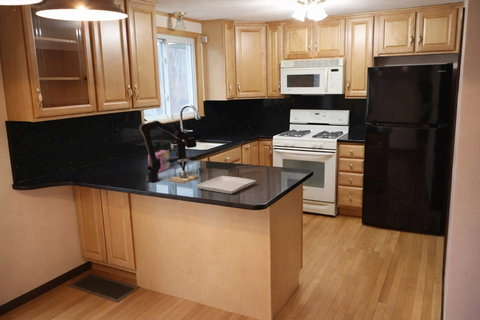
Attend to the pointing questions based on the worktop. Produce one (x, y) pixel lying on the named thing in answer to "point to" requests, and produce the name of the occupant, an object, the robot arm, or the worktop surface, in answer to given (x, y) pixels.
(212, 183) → the square plate
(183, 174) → the wooden latch lever
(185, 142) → the robot arm
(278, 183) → the worktop surface
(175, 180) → the board
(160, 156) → the gum box
